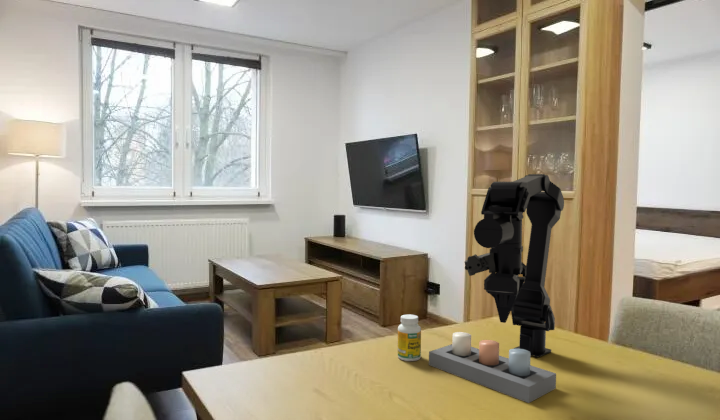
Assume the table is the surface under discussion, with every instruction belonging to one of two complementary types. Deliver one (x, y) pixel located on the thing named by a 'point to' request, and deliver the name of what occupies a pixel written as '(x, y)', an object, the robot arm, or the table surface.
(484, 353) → the peach rounded piece
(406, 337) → the supplement bottle
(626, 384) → the table surface
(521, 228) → the robot arm
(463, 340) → the white short cylinder
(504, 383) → the grey socket tray
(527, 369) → the slate button
